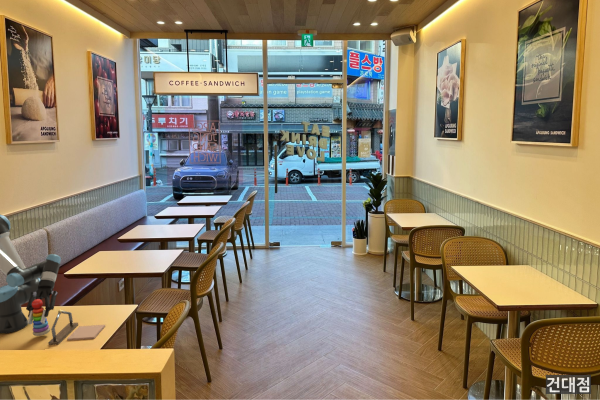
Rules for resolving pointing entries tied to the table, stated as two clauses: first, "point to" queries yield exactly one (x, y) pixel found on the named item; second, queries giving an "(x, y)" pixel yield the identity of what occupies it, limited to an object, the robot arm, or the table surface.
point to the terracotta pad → (86, 332)
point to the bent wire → (65, 331)
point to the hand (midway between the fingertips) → (35, 323)
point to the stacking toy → (39, 319)
